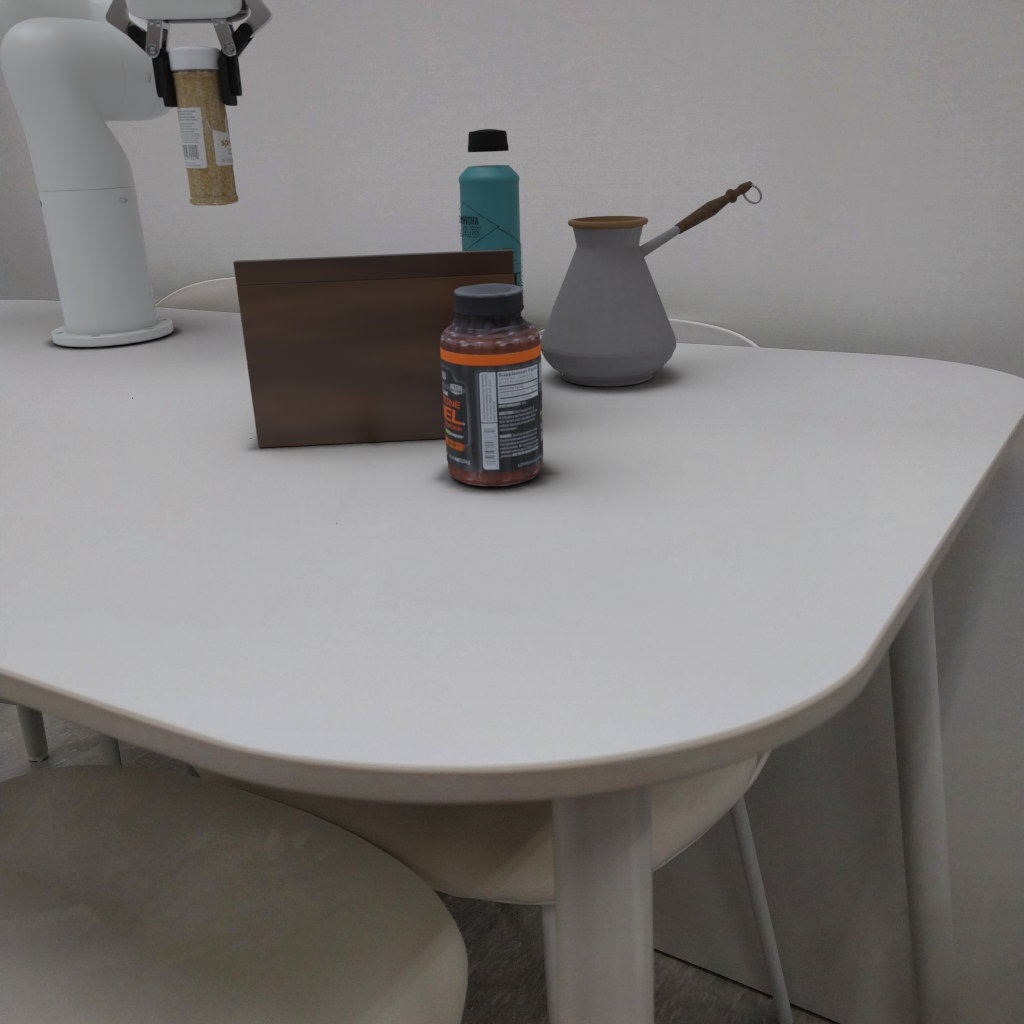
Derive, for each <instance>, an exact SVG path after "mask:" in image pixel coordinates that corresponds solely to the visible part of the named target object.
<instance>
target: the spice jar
mask: <svg viewBox="0 0 1024 1024" xmlns="http://www.w3.org/2000/svg"><path fill="white" fill-rule="evenodd" d="M220 50H221V49H219V47H218V48H217V47H213V46H212V47H211V46H199V45H197V46H195V45H191V46H189V45H188V46H187V45H186V46H176V47H170V49H169V51H168V54H169V63H170V70H171V71H172V72H173V74H172V76H173V78H174V84H175V91H176V99H177V106H178V107H176V109H177V110H176V111H177V117H178V125H179V132H180V133H179V134H180V139H181V144H182V152H183V158H184V166H185V169H186V173H187V181H188V187H189V203H190V204H191V205H194V206H226V205H232V204H236V203H237V202H239V199H240V198H239V196H238V194H237V192H238V191H237V187H236V179H235V170H234V158H233V151H232V143H231V137H230V129H229V121H228V120H229V119H228V113H227V109H226V105H225V104H223V100H222V92H221V84H220V76H219V68H218V58H219V56H221V53H220Z"/></svg>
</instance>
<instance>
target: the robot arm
mask: <svg viewBox="0 0 1024 1024" xmlns="http://www.w3.org/2000/svg"><path fill="white" fill-rule="evenodd" d="M273 18H274V15H273V13H272V11H271V10H270V9H269V7H268V6H267V5H266V3H264V1H263V0H0V69H1V72H2V77H3V80H4V83H5V86H6V88H7V91H8V94H9V96H10V98H11V101H12V103H13V106H14V109H15V111H16V113H17V117H18V120H19V122H20V125H21V128H22V131H23V134H24V137H25V141H26V144H27V149H28V152H29V156H30V161H31V166H32V170H33V174H34V180H35V184H36V190H37V192H38V198H39V203H40V208H41V213H42V218H43V223H44V228H45V232H46V237H47V243H48V248H49V252H50V256H51V257H50V258H51V261H52V266H53V267H52V268H53V271H54V277H55V281H56V286H57V287H56V288H57V292H58V297H59V301H60V306H61V311H62V317H63V321H64V325H62V326H59V327H56V328H55V329H53V330H52V331H51V333H50V335H51V340H52V343H54V344H55V345H58V346H62V347H70V348H71V347H73V348H74V347H75V348H94V347H109V346H119V345H120V346H121V345H129V344H135V343H140V342H146V341H151V340H155V339H159V338H162V337H165V336H168V335H170V334H172V333H173V331H174V322H173V320H172V319H170V318H168V317H164V316H158V315H157V309H156V304H155V303H156V302H155V295H154V291H153V285H152V279H151V273H150V267H149V261H148V255H147V248H146V243H145V237H144V231H143V226H142V225H143V224H142V218H141V212H140V208H139V202H138V195H137V189H136V184H135V178H134V172H133V168H132V165H131V162H130V159H129V157H128V155H127V153H126V151H125V150H124V148H123V145H122V144H121V143H120V142H119V140H118V139H117V137H116V136H115V135H114V132H112V130H111V129H110V127H109V126H108V125H107V122H143V121H145V122H146V121H152V120H156V119H159V118H161V117H164V116H165V115H167V114H168V113H170V112H171V110H172V109H174V108H178V106H177V99H176V91H175V84H174V78H173V76H172V74H173V72H172V71H171V70H170V63H169V54H168V51H169V49H171V47H170V46H169V42H170V40H169V39H170V30H171V25H179V24H180V25H181V24H182V25H185V24H188V25H189V24H192V25H193V24H212V25H213V29H214V31H215V33H216V36H217V39H218V42H219V45H220V48H221V49H219V50H220V53H221V56H219V58H218V68H219V76H220V84H221V92H222V100H223V104H225V106H228V107H238V97H242V96H243V87H242V86H243V85H242V79H241V72H240V71H241V70H240V69H241V68H240V63H239V59H240V58H241V56H242V53H243V52H244V51H245V49H247V47H248V45H249V44H251V42H252V40H253V39H254V38H255V36H256V35H257V34H259V33H260V32H261V31H262V30H263V29H265V27H266V26H267V25H268V24H269V23H271V21H272V20H273ZM245 19H246V20H245ZM144 20H145V21H147V23H146V22H145V21H144ZM244 20H245V21H244ZM241 21H243V22H242V23H240V24H239V25H238V27H237V28H236V29H235V26H234V24H233V23H237V22H238V23H239V22H241Z"/></svg>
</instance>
